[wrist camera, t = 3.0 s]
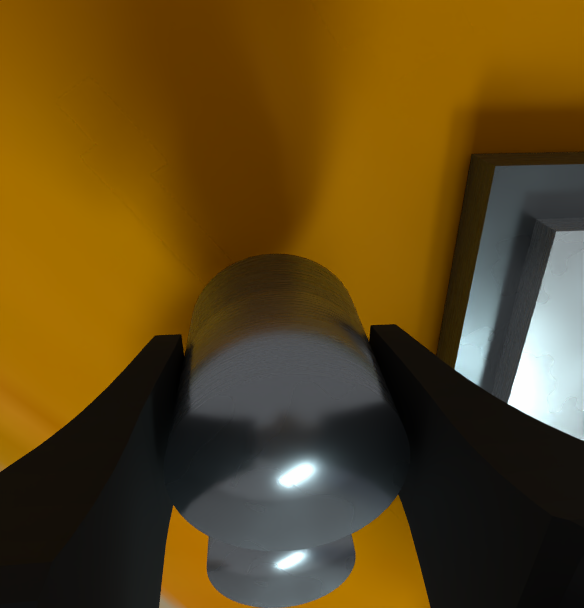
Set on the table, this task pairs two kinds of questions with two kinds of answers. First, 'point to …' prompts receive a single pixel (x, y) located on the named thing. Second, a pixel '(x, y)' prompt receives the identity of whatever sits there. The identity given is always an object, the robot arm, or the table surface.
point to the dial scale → (521, 285)
